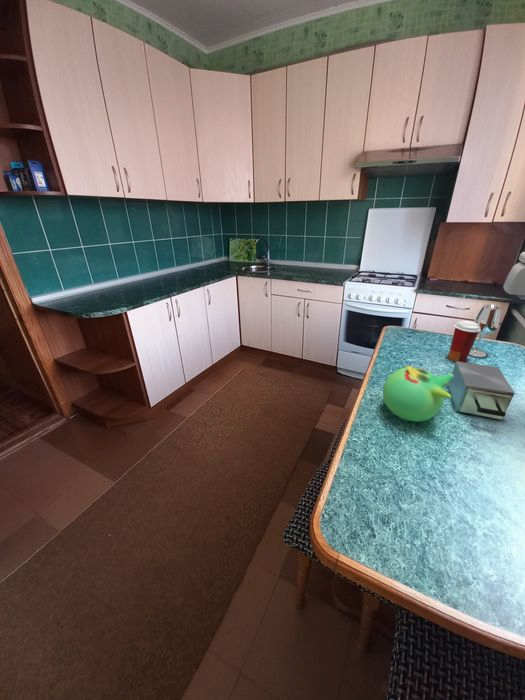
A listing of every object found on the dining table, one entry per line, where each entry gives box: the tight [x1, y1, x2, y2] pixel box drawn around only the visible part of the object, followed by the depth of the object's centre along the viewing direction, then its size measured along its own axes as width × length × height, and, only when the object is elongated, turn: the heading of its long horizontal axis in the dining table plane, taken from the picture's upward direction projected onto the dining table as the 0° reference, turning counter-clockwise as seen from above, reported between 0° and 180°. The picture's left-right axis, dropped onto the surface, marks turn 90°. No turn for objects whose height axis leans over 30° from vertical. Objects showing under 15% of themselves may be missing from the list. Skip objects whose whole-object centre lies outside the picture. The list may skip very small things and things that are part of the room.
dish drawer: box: [459, 388, 513, 420], centre depth 86 cm, size 19×10×8 cm, turn 159°
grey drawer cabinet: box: [447, 361, 515, 421], centre depth 89 cm, size 15×12×10 cm
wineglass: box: [468, 304, 502, 358], centre depth 115 cm, size 8×8×20 cm
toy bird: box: [382, 365, 454, 422], centre depth 84 cm, size 18×17×15 cm
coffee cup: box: [448, 320, 481, 363], centre depth 112 cm, size 8×8×15 cm
